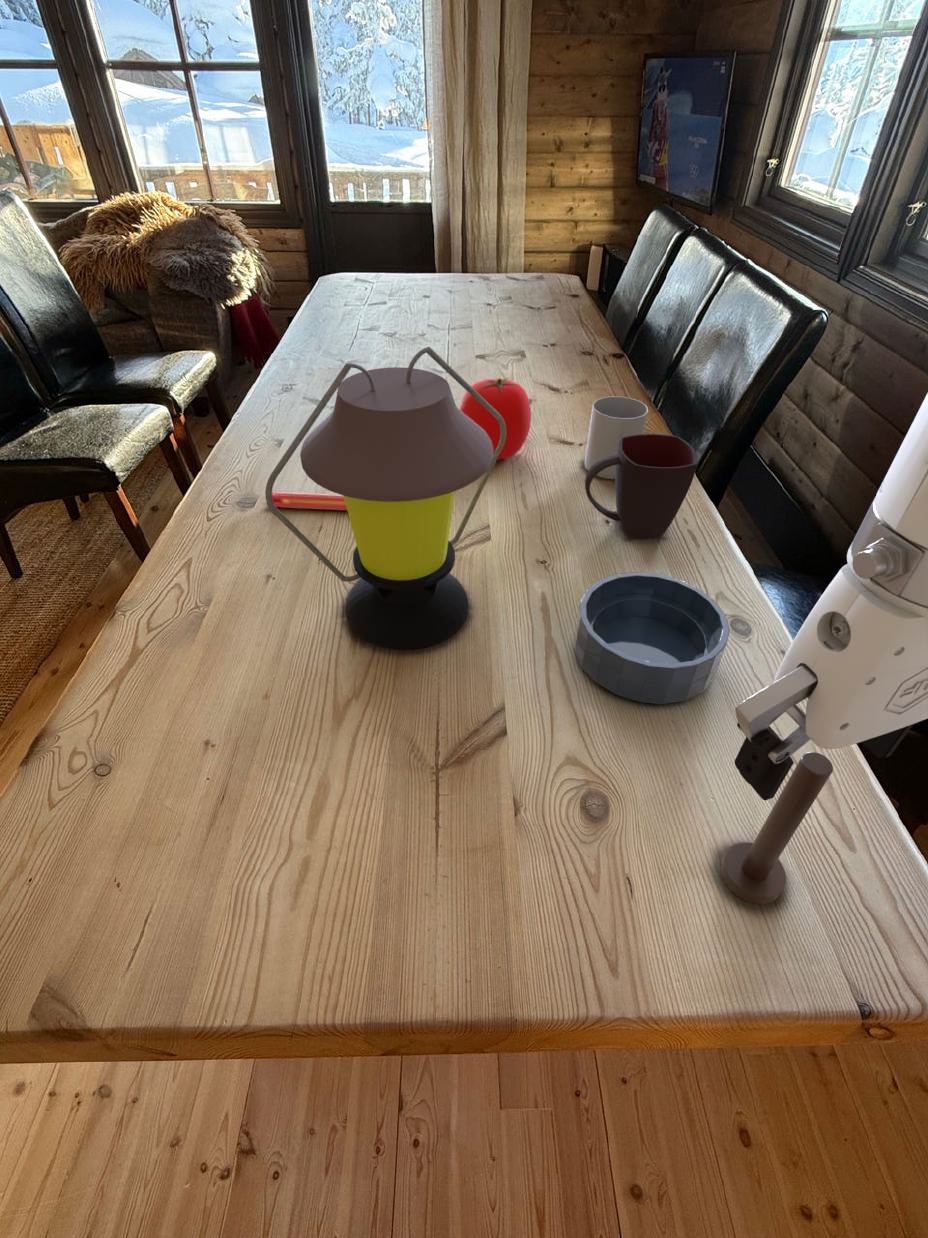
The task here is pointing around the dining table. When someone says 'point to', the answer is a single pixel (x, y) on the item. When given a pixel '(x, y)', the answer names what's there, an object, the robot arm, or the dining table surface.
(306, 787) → the dining table surface
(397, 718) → the dining table surface
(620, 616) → the bowl
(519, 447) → the tomato
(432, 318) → the dining table surface
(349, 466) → the lantern
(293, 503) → the red bar
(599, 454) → the cup
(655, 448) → the mug
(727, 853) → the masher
